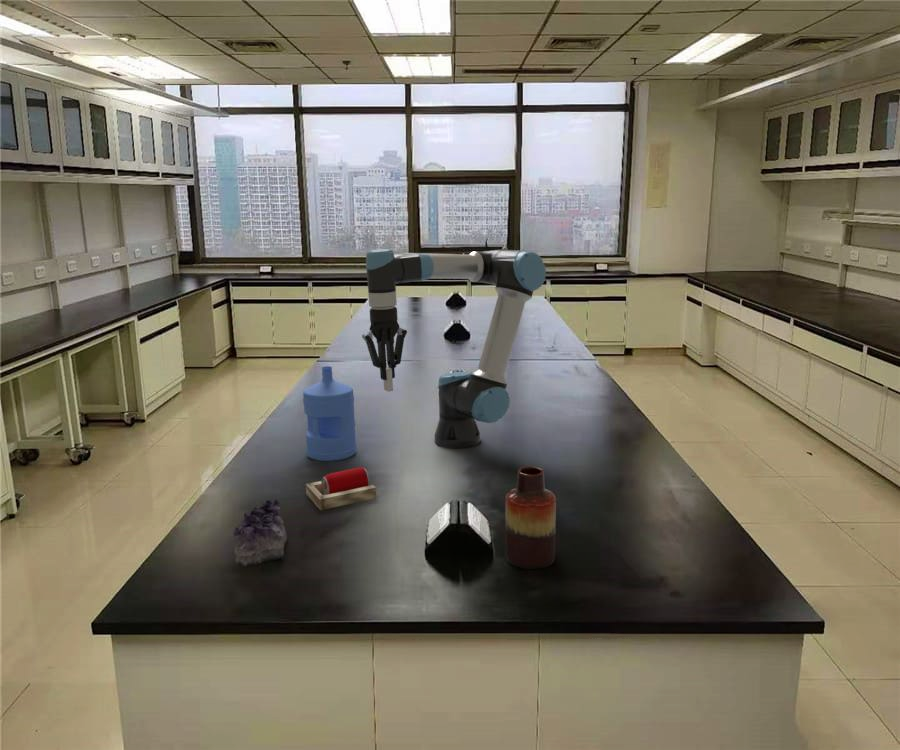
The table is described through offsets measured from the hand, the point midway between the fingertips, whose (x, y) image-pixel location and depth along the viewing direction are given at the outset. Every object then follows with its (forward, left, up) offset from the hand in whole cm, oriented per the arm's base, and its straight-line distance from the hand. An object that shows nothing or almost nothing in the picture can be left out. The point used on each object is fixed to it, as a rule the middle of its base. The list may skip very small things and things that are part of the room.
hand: (388, 390), depth 199 cm
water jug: (+9, -27, -26) cm, 39 cm away
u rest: (+18, +7, -26) cm, 32 cm away
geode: (+44, +26, -26) cm, 57 cm away
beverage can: (+10, +6, -22) cm, 25 cm away
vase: (-6, +61, -26) cm, 66 cm away
